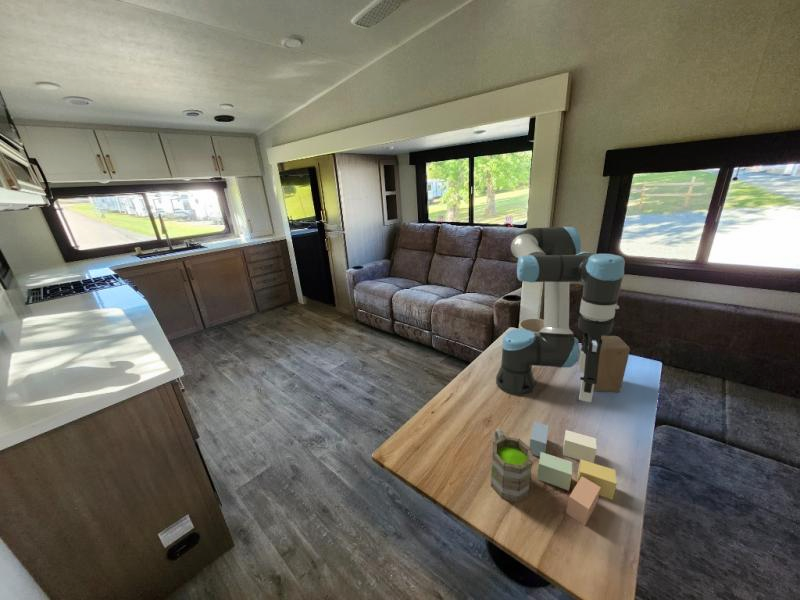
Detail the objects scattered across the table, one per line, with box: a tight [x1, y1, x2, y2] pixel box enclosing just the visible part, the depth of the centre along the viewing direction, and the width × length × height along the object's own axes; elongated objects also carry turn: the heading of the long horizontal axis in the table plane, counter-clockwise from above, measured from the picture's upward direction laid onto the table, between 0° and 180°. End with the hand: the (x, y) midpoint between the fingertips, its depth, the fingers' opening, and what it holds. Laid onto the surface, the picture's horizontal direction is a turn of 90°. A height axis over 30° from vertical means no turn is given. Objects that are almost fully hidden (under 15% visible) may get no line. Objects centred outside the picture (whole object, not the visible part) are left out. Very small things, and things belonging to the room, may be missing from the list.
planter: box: [518, 317, 544, 336], centre depth 149 cm, size 16×16×13 cm
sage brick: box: [536, 452, 573, 491], centre depth 85 cm, size 8×4×6 cm, turn 61°
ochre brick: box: [576, 459, 618, 501], centre depth 82 cm, size 8×4×6 cm, turn 61°
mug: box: [490, 428, 534, 503], centre depth 86 cm, size 16×11×12 cm
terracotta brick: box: [565, 476, 601, 526], centre depth 77 cm, size 8×4×6 cm, turn 131°
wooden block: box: [593, 335, 631, 393], centre depth 119 cm, size 10×10×20 cm
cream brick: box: [562, 429, 598, 464], centre depth 92 cm, size 8×4×6 cm, turn 61°
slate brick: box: [529, 421, 549, 458], centre depth 96 cm, size 8×4×6 cm, turn 151°
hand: (584, 385), depth 85 cm, fingers open, 13 cm apart
